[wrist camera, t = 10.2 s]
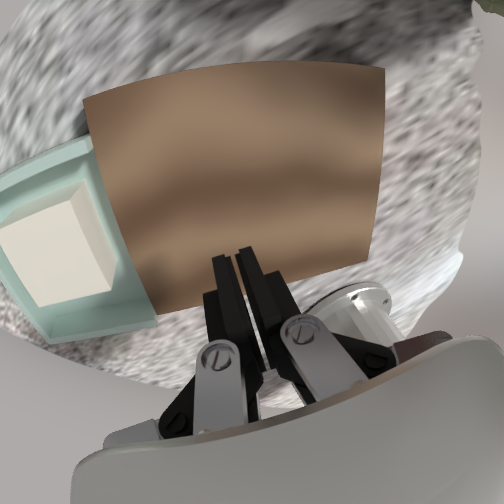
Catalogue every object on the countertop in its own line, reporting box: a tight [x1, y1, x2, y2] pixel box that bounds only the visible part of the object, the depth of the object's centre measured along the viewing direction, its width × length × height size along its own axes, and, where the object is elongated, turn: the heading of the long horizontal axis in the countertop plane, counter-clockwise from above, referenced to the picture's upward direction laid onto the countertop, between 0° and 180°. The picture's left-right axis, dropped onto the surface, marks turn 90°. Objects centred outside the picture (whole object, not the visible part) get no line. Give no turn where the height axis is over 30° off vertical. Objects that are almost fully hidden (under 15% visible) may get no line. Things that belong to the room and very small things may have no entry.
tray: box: [0, 133, 158, 345], centre depth 14 cm, size 13×10×3 cm
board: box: [83, 61, 385, 315], centre depth 16 cm, size 15×17×2 cm
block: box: [0, 179, 117, 307], centre depth 14 cm, size 6×6×3 cm
